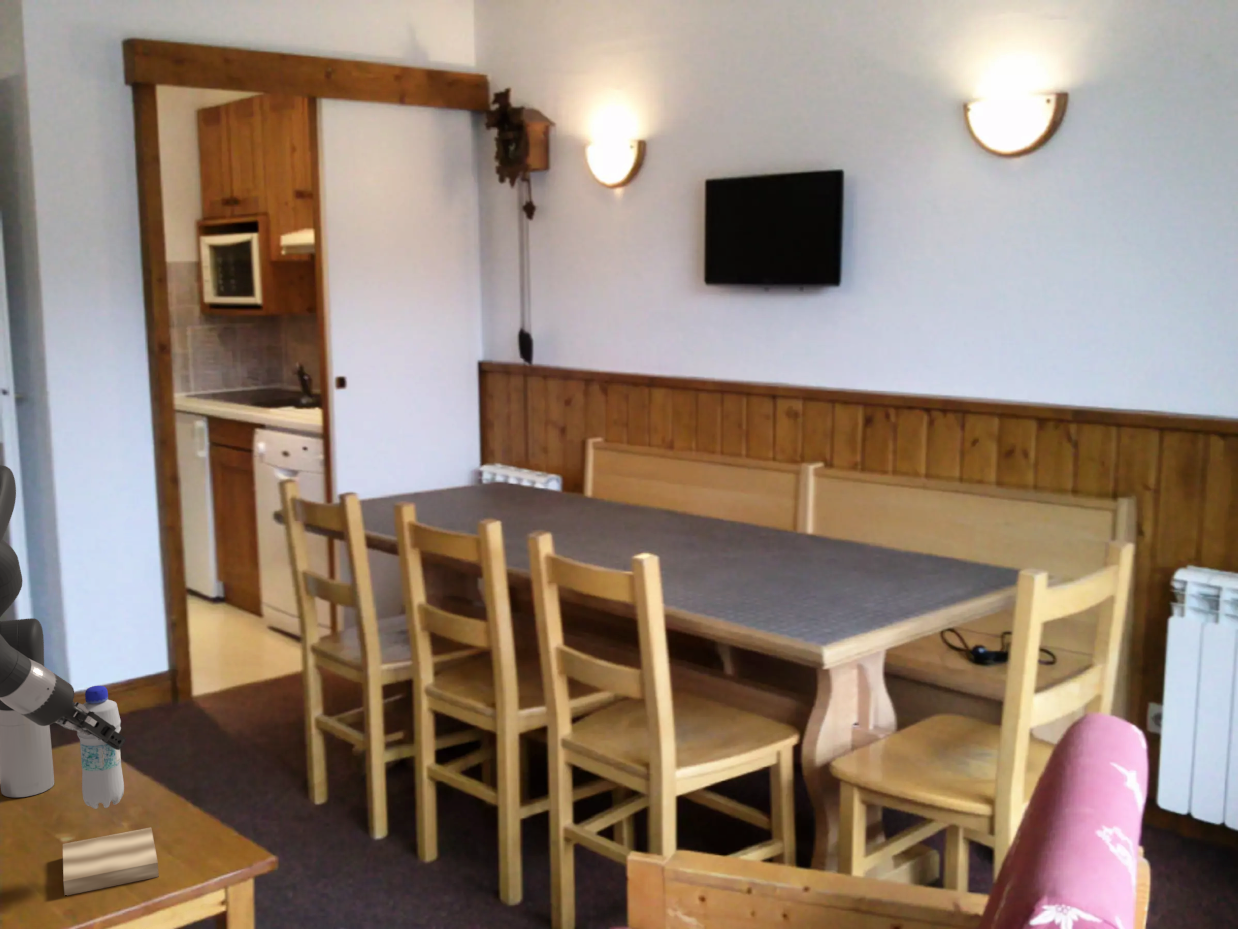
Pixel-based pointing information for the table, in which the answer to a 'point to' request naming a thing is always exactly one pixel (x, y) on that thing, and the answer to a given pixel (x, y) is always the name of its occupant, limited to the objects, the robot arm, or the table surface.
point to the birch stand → (109, 861)
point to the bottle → (101, 754)
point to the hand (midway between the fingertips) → (108, 739)
